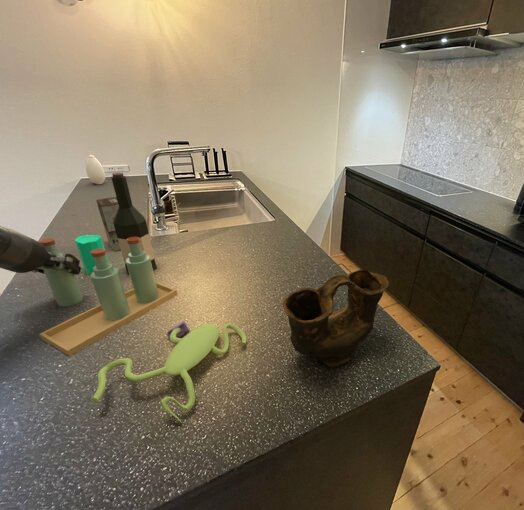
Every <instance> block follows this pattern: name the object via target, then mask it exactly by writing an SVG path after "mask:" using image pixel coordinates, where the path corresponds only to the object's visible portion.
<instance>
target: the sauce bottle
mask: <svg viewBox="0 0 524 510" xmlns="http://www.w3.org/2000/svg"><path fill="white" fill-rule="evenodd" d="M85 172H86V175H87V177H88V178H89V180H90V181H91V182H92V183H94V184H95V185H101V184H103V183H104V182H105V180H106V171H105V169H104V166H103V165H102V164H101V162H100V161H99V160H98V159H97V157H95V155H92V152H91V151H89V154H88V158H87V159H86V163H85Z"/></svg>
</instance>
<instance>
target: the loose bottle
mask: <svg viewBox="0 0 524 510" xmlns="http://www.w3.org/2000/svg"><path fill="white" fill-rule="evenodd" d="M39 242H40V243H41V244H43V245H44V247H45V249H46V250H47V252H50V253H52V254H55V255H58V256H62V257H65V255H64V253H63V252H59V251H58V248H57V245H56V239H55V238H54V237H53V238H52V237H47V238H46V237H45V238H42V239H40V240H39ZM55 266H56V265H55ZM55 266H54V267H55ZM63 267H64V268H65V267H66V266H63ZM43 271H44V273H45V274H44V276H45V278H46V280H47V282H48V285H49V288H50V290H51V293H52V295H53V297H54V300H55V302H56V304H57V306H59V307H70V306H74V305H77V304H78V303H80V302H82V301H83V300H84V295H83V293H82V292H83V291H82V290H81V287H80V285H79V282H78V278H77V276H76V275H74V274H72V273H69V272H67V271H62V270H61V271H52V270H48V269H44V270H43Z"/></svg>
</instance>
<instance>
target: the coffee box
mask: <svg viewBox="0 0 524 510" xmlns="http://www.w3.org/2000/svg"><path fill="white" fill-rule="evenodd" d="M95 201H96V205H97V208H98V212H99V214H100V218H101V221H102V225H103V227H104V231H105V234H106V238H107V242H108V244H109V246H110V247H111V249H112V251H113V252H117V251H121V249H120V245H119V242H118V238H117V235H116V231H115V228H114V224H113V219H114V217H115V215H116V212H117V210H118V208H119V205H118V201H117V197H116V196H114V197H106V198H98V199H96V200H95Z"/></svg>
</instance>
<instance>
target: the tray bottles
mask: <svg viewBox="0 0 524 510" xmlns="http://www.w3.org/2000/svg"><path fill="white" fill-rule="evenodd" d="M139 242H140V240H139V237H130V238H127V243H128V244H129V247H130V251H131V253H129V254H128V257H129V258H127V259H126V264H127V268H128V271H129V275H128V276H129V279H130V283H131V285H132V289H134V293H135V297H136V300H137V302H138V303H142V304H145V303H150V302H153V301H155V300H156V299H158V297H159V294H158V290H157V285H156V282H157V281H156V277H155V273H154V271H153V268H152V264H151V260H150V256H148V255H146V254H145V252H144V251H141V248H140V244H139ZM90 253H91V256H92V257H93V258H94V261H95V264H96V266H95V267H94V268H93V271H94V272H92V273H91V274H90V278H91V281H92V284H93V287H94V291H95V293H96V296H97V299H98V302H99V305H101V308H102V311H103V313H104V316H105V319H107V320H109V321H115V320H119V319H122V318H124V317H126V316H127V315H128V314H129V313H130V308H129V305H128V302H127V298H126V295H125V292H126V291H125V288H124V285H123V281H122V278H121V275H120V272H119V269H118V268H117V267H114V266H113V264H112V263H110V262H109V263H108V262H107V259H106V255H107V252H106V249H102V248H100V249H94V250H92V251H91V252H90ZM105 254H106V255H105Z"/></svg>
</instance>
